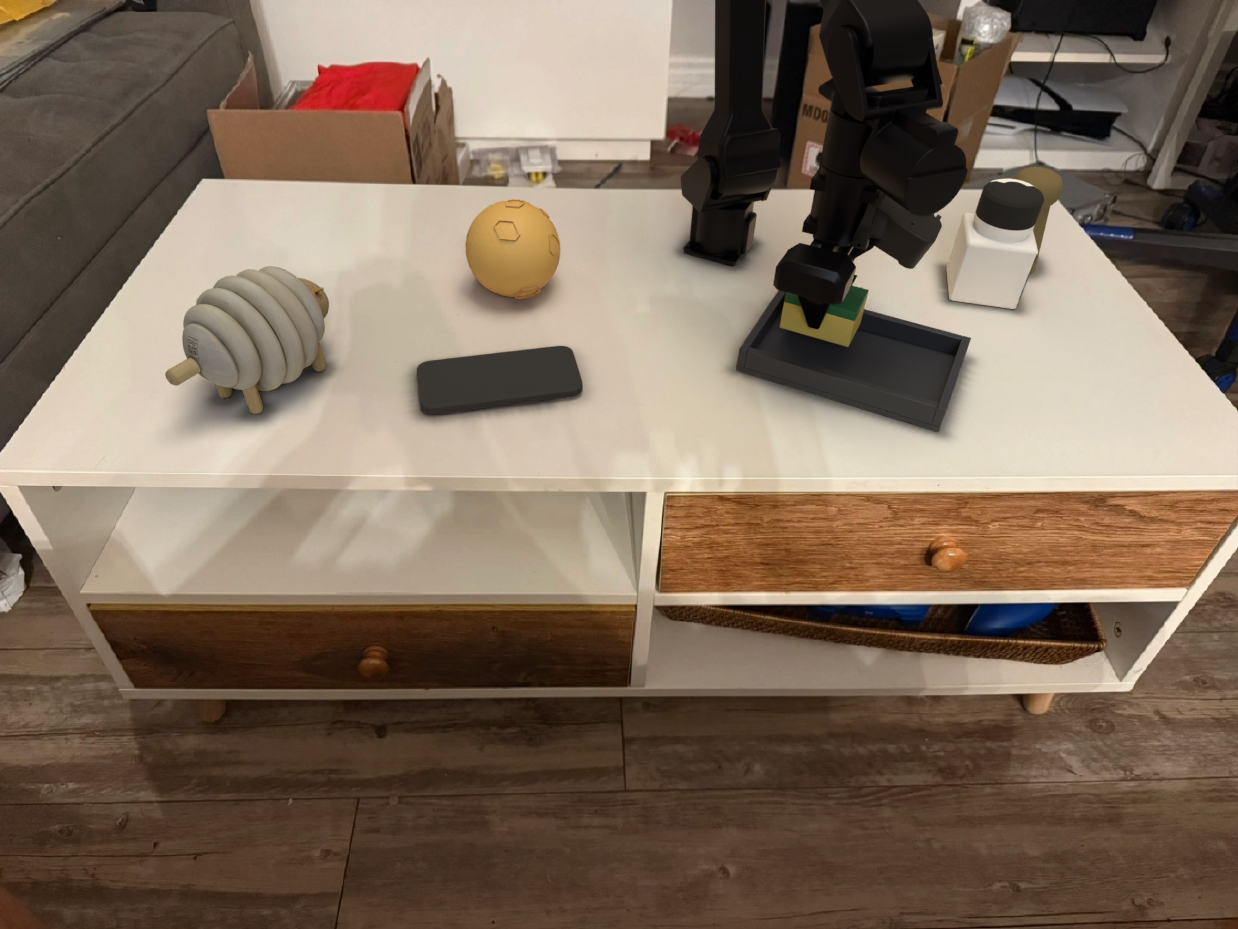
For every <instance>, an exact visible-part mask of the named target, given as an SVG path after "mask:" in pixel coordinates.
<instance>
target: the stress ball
mask: <svg viewBox="0 0 1238 929" xmlns="http://www.w3.org/2000/svg"><path fill="white" fill-rule="evenodd" d="M464 246H465V257H466V261H467V264H468V267H469V269H470V271H471V273H472V274H473V276H474V277H475V279H476V280H477V281H478V282H479V283H480V284H481V285H482V286H483V287H484V288H486V289H487V290H489V291H490V292H492V293H495V294H497V295H500V296H503V297H507V298H508V297H509V298H514V299H515V300H524V299H528V298H532V297H533V296H536V295H537V294H539V293H540V292H541V289H543V287H544V286H546V285H547V284H548V283H549V282H550V281H551V279H552V278H553V277H554V275H555V273H556V271H557V268H558V266H559V263H560V258H561V240H560V237H559V232H558V230H557V229H556V227H555V224H554V222H553V221H552V220H551V219H550V215H549V214H548V213H547V212H546V211H545V210H544V209H543V208H541V207H540V208H539V207H537V206H535V205H534V204H531V203H530V202H528V201H526V200H523V199H522V200H521V199H514V198H513V199H506V200H501V201H497V202H495V203H492V204H489V205H488V206H486V207H485V208H484V209H482V210H481V211H480V212H479V213H478V214H477V215H476V216H475V217H474V219H473V220H472V222H471V224H470V225H469V227H468V231H467V233H466V237H465V245H464Z"/></svg>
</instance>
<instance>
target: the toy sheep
mask: <svg viewBox="0 0 1238 929" xmlns="http://www.w3.org/2000/svg"><path fill="white" fill-rule="evenodd" d="M329 309H330V300H329V297H328V295H327V293H326V291H325V287H320V286H319V285H318V284H317V283H315V282H313V281H311V280H308V279H306V278H301V277H297V276H296V275H295V274H293V273H292V272H291V271H289V270H287V269H285V268H283V267H279V266H273V265H269V266H268V265H267V266H264V267H261V268H259V269H258V270H257V269H253V268H252V269H251V268H250V269H249V268H248V269H244V270H242V271H239V272H238V273H236V275H227V276H224V277H221V278H220V279H218V280H217V281H216V282H215V283H214V284H213V287H212V288H208V289H205V290H204V291H203V292H202V293H201V294H199V296H198V298H197V299H196V302H195V305H193V306H191V307H190V308H189V309H188V310H187V311H186V312H185V314H184V317H183V320H182V326H183V330H182V336H181V338H182V340H181V341H182V349H183V352H184V356H185V358H186V359H184V360H183V361H181V362H179V363H177V364H176V365H174V366H172V367H170V368H168V369H167V370H166V371H165V373H164V374H165V379H166V380H167V382H168V383H169V384H170V385H172V386H174V387H175V386H176V387H177V386H180V385H181V384H183V383H185V382H186V381H188V380H190V379H192V378H193V377H195V376H197V375H199V376H200V377H202V379H204V380H206V381H207V382H209V383H212V384H214V385H215V388H216V391H217V394H218V396H219V397H220V398H221V399H229V398H230V397H231V396H232V395H233V393H234V392H233V391H234V390H239V391H242V393H243V396H244V399H245V402H246V405H247V408H248V411H249V412H250V413H251V414H253V415H258V414H260V413H262V412H263V411H264V404H263V401H262V399H261V395H260V392H259V391H261V392H270V391H274V390H277V388H279V387H280V386H281V385H283V384H284V385H285V384H290V383H293V382H295V381H296V380H297V379H298V378H299V377H300V376H301V374H302V372H303V370H304V369H306V368H308V367H309V366H311V367H312V369H313V370H314V371H316V372H320V373H321V372H323V371H325V370H326V368H327V362H326V359H325V356H324V351H323V348H322V344H321V341H322V340H323V338H324V335H325V330H326V322H325V318H326V317H327V315H328V313H329V311H330V310H329ZM233 389H234V390H233Z"/></svg>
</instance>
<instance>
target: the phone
mask: <svg viewBox="0 0 1238 929" xmlns="http://www.w3.org/2000/svg"><path fill="white" fill-rule="evenodd" d="M416 374H417V375H416V376H417V386H418V397H419V404H420V409H421V410H422V412H423V413H425V414H428V415H436V414H445V413H454V412H461V411H469V410H478V409H485V408H492V407H501V406H509V405H518V404H524V403H525V404H526V403H534V402H540V401H542V402H543V401H548V400H549V401H550V400H556V399H557V400H558V399H565V398H573V397H577V396H579V395H580V394H582V392H583V388H584V387H583V385H584V384H583V379H582V375H581V372H580V370H579V365H578V363H577V359H576V356H575V353H574V351H573V349H572V348H571V347H570V346H566V345H553V346H544V347H535V348H527V349H519V350H511V351H510V350H509V351H502V352H501V351H500V352H493V353H483V354H475V355H467V356H459V357H458V356H457V357H449V358H442V359H441V358H440V359H439V358H438V359H432V360H431V359H430V360H427V361H423V362H421V363H419V364H418V366H417V367H416Z"/></svg>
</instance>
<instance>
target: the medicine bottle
mask: <svg viewBox="0 0 1238 929" xmlns="http://www.w3.org/2000/svg"><path fill="white" fill-rule="evenodd" d="M1043 202H1044V196H1043V194H1042V192H1041V191H1040V190H1039V189H1038V188H1036V187H1035V186H1033V185H1031V184H1029V183H1027V182H1024V181H1021V180H1017V179H1013V178H998V179H993V180H991V181H989V182H987V183H985V185H984V186H983V188H982V190H981V193H980V196H979V200H978V203H977V206H976V208H975V212H970V211H968V212H967V211H966V212H964V213H963V214H962V216H961V220H960V222H959V225H958V226H959V227H958V229H957V233H956V236H955V239H954V242H953V245H952V248H951V251H950V254H949V257H948V261H947V264H946V266H945V269H946V280H947V292H948V299H949V300H950V301H953V302H961V303H967V304H974V305H982V306H988V307H996V308H1001V309H1002V308H1003V309H1011V310H1015V309H1017V307H1018V305H1019V303H1020V300H1021V297H1022V295H1023V293H1024V290H1025V288H1026V285H1027V282H1028V280H1029V277H1030V275H1031V274H1030V272H1031V270H1032V267H1033V265H1034V262H1035V260H1036V257H1037V255H1038V249H1037V245H1036V240H1035V236H1034V232H1033V228H1034V226H1035V223H1036V221H1037V218H1038V215H1039V213H1040V210H1041V208H1042V205H1043Z"/></svg>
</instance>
